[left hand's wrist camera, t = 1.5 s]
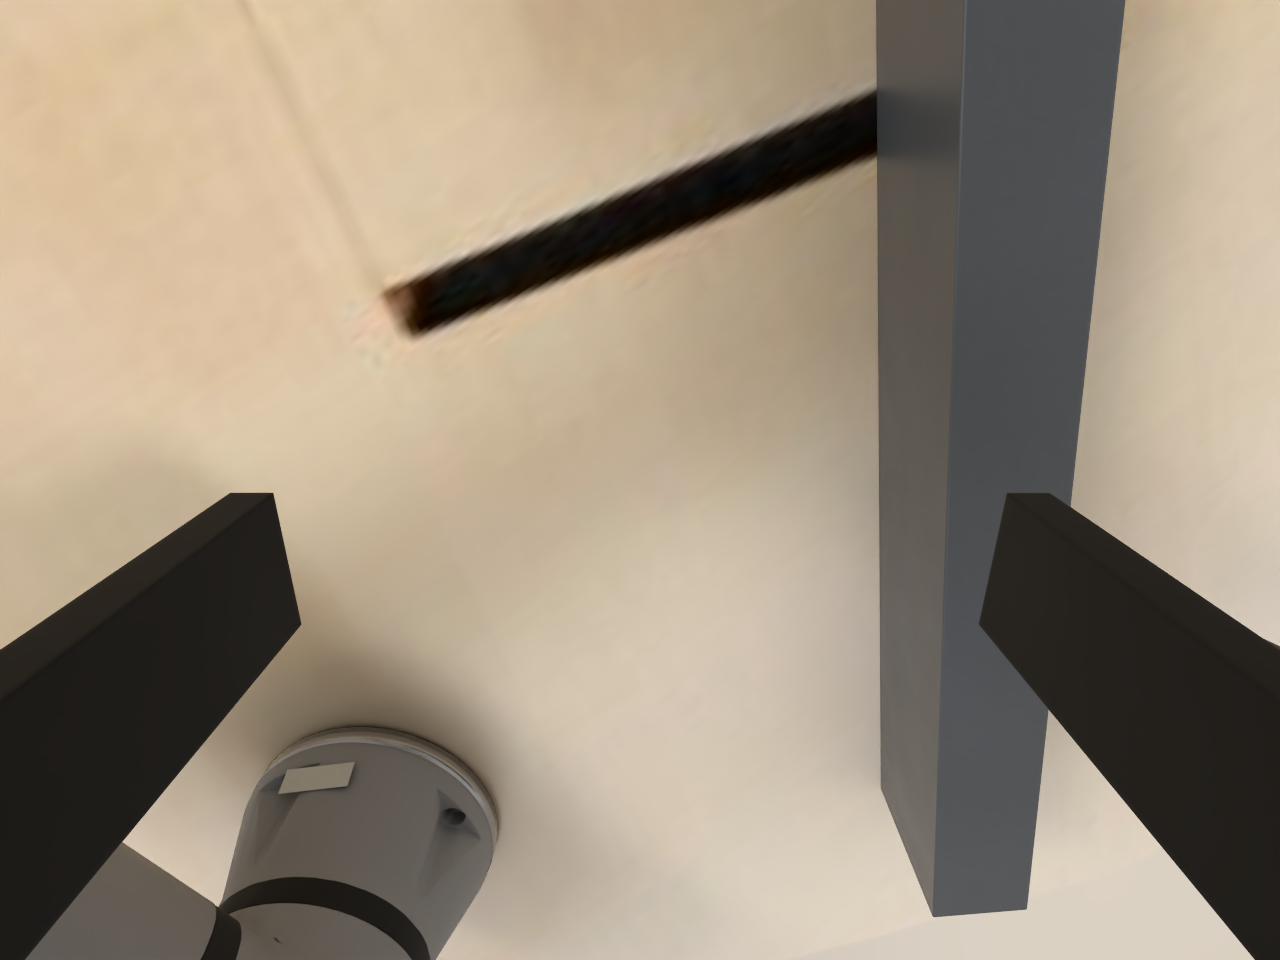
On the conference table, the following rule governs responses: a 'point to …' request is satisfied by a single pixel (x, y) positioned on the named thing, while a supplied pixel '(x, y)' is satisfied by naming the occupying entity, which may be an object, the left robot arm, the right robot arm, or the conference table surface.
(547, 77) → the conference table surface
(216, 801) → the conference table surface
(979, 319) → the post
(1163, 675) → the left robot arm
